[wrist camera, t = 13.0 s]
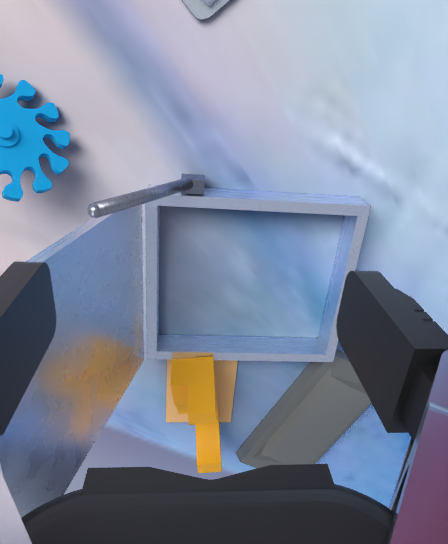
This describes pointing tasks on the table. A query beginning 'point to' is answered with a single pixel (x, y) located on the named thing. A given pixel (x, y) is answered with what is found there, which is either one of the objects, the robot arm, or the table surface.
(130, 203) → the rod
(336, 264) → the case
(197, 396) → the yellow curved stepped piece
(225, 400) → the tan rectangular plate
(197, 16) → the office telephone
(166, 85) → the table surface
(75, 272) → the lid
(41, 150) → the gear
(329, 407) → the grey bevelled block
